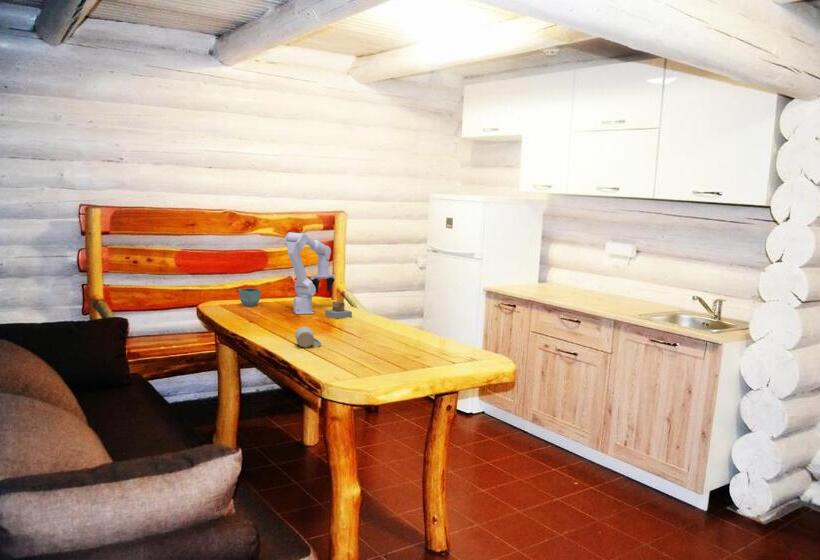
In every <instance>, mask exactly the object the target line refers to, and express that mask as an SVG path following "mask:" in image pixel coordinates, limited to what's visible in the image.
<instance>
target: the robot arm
mask: <svg viewBox="0 0 820 560" xmlns="http://www.w3.org/2000/svg"><path fill="white" fill-rule="evenodd" d="M284 242H285V246H286V247H287V254H288V258H289V260H290V263H291V266H292V269H293V271H294V275H295V277H296V281H295V282H294V287H295V288H294V291H295V294H296V295H297V296H294V297H293V310H292V311H293V313H295V315H305V314H308V315H309V314H311V315H313V314H315V312H314V311H313V297H314V295H315V294H316V293H318V294H319V289H320V288H319V285H320V281H321V280H323V279H325V281H326V291H327V292H331V290H332V286H333V283H334V282H335V279H336V274H331V273H330V274H329V265H330V263H329V260H330V259H331V258H330V257H331V254H332V250H331V247H330V246H329V245H326V244H324V243H323V242H320V240H319V239H314V240H313V239H312V238H310V237H309V236H308V234H306V233H305V232H300V233H299V232H292V231H289V232H287V233H286V235H285V239H284ZM305 245H307V246H308V247H309V249H310V250H311V251H313V252H314V253H316V255H317V274H315V275H310V279H309V278H308V275H307V272H306V270H305V267H304V263H303V260H302V256H301V253H300V252H302V251H303V249H304V248H305Z"/></svg>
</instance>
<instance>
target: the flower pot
mask: <svg viewBox="0 0 820 560" xmlns="http://www.w3.org/2000/svg"><path fill="white" fill-rule="evenodd" d="M238 293H239V299H240V302H241V304H242V305H243V306H244V307H249V308H251V307H256V306H257V305H258V303H260V300H261V295H262V294H261V293H262V290H261V289H257V288H251V287H250V288H249V287H248V288H243V289H242V288H241V289H238Z"/></svg>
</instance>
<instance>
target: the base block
mask: <svg viewBox="0 0 820 560" xmlns="http://www.w3.org/2000/svg"><path fill="white" fill-rule="evenodd" d="M324 316H325V317H327V316H328V317H329V318H331V317H332V318H331V319H334V318H335V320H338V319H337V318H341V319H346V318H345V317H350V318H352V317H353V312H352V311H350V310H348V309H345V308H344V311H341V312H336V311H332V309H325V311H324Z"/></svg>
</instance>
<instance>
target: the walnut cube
mask: <svg viewBox="0 0 820 560" xmlns="http://www.w3.org/2000/svg"><path fill="white" fill-rule="evenodd" d="M331 305H332V311H336V312H341V311H344V309H345V305H346V304H345V302H344V301H332V304H331Z"/></svg>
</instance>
